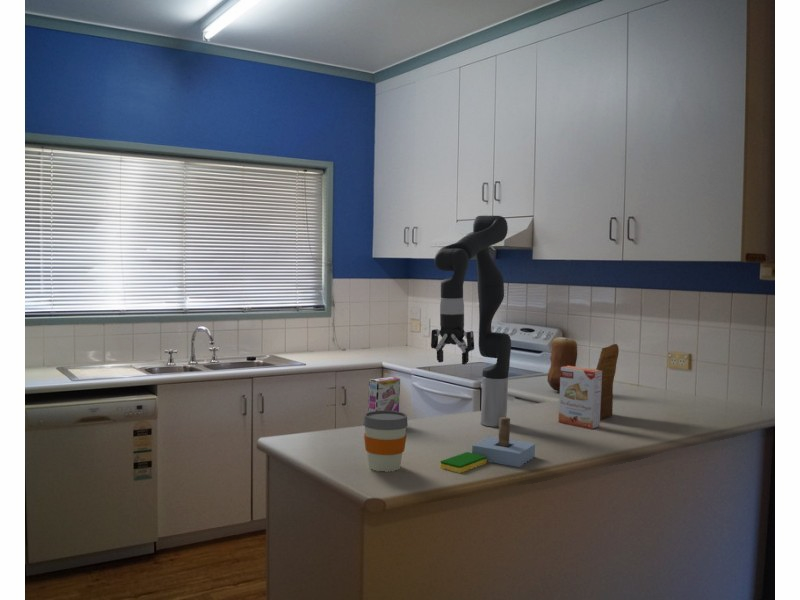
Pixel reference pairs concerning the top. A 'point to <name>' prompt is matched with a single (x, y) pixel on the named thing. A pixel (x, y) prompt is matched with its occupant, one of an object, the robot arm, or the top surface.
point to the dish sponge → (463, 462)
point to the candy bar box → (384, 394)
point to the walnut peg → (504, 432)
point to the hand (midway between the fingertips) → (452, 363)
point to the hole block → (505, 451)
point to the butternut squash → (561, 359)
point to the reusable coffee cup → (385, 439)
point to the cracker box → (580, 396)
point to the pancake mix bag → (607, 378)
